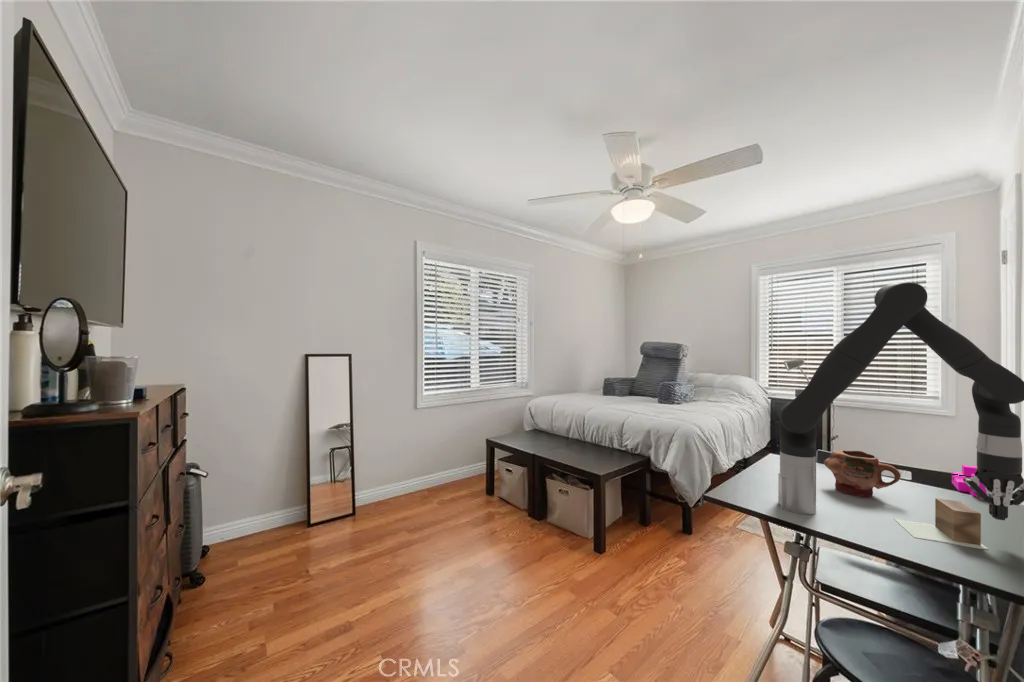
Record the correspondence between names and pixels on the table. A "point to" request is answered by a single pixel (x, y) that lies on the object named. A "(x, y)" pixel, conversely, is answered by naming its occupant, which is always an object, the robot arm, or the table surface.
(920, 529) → the mat
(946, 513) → the walnut block
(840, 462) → the decorative planter
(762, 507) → the table surface
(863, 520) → the table surface
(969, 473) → the toy block
